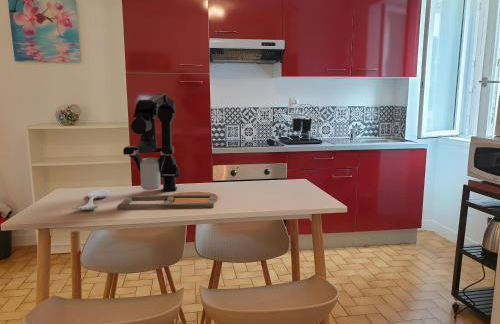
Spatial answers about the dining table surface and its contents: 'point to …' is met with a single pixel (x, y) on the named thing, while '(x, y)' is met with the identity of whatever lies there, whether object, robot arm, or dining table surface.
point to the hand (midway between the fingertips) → (150, 171)
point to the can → (150, 173)
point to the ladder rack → (166, 202)
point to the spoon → (92, 195)
